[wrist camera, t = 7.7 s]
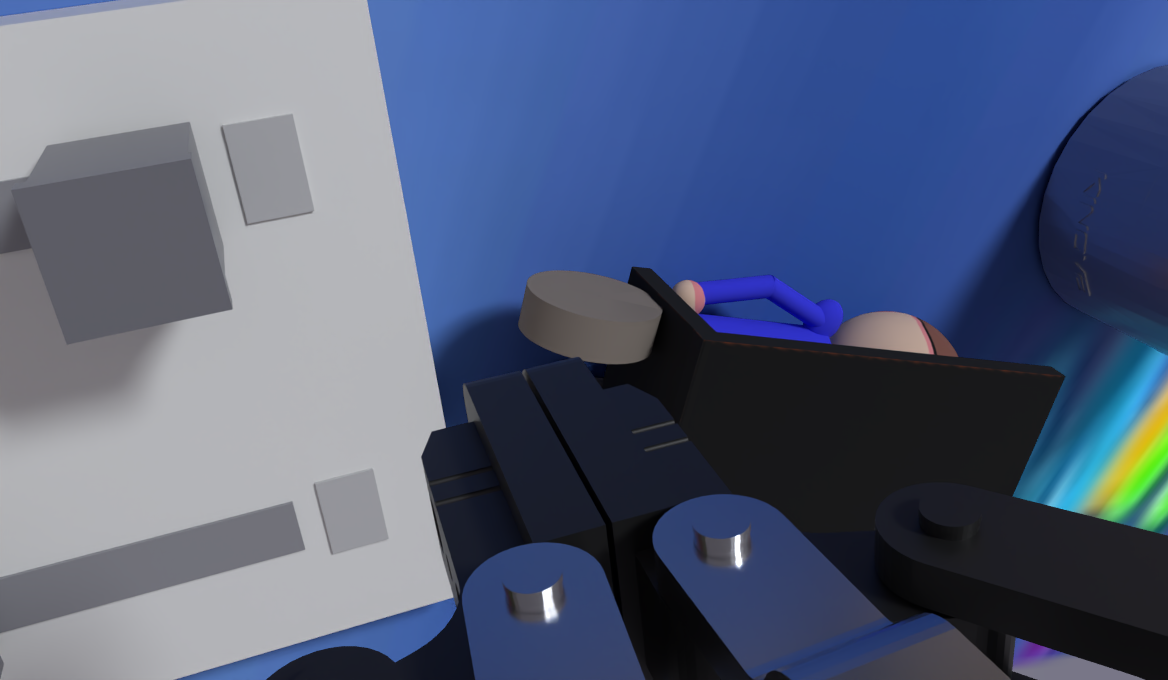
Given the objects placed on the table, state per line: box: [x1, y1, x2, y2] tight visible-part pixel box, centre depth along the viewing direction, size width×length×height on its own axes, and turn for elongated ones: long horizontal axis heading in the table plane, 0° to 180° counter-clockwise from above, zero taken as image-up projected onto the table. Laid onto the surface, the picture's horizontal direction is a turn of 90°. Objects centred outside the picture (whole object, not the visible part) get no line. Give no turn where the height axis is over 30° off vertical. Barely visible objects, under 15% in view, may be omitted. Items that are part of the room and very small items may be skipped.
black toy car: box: [518, 267, 1065, 533], centre depth 30 cm, size 7×8×15 cm
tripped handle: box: [11, 122, 233, 345], centre depth 22 cm, size 3×3×4 cm
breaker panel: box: [0, 0, 453, 680], centre depth 26 cm, size 21×18×2 cm
